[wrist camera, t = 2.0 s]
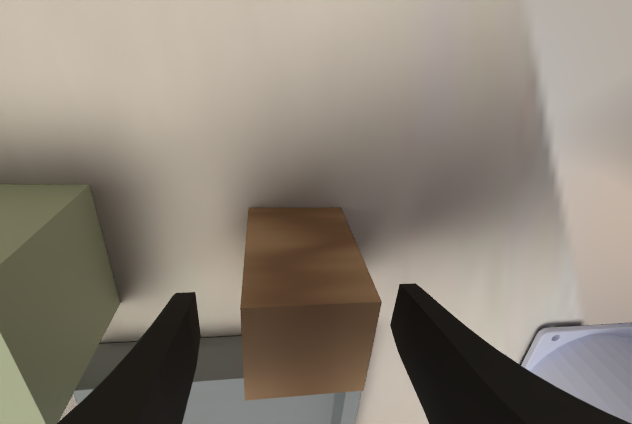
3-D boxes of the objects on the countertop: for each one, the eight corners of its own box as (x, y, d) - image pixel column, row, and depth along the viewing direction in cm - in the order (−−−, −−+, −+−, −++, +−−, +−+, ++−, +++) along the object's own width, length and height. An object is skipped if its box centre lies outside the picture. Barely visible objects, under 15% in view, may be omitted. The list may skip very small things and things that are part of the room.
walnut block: (340, 207, 15) (381, 301, 10) (332, 279, 17) (363, 390, 12) (248, 207, 15) (240, 308, 9) (250, 281, 16) (244, 400, 11)
